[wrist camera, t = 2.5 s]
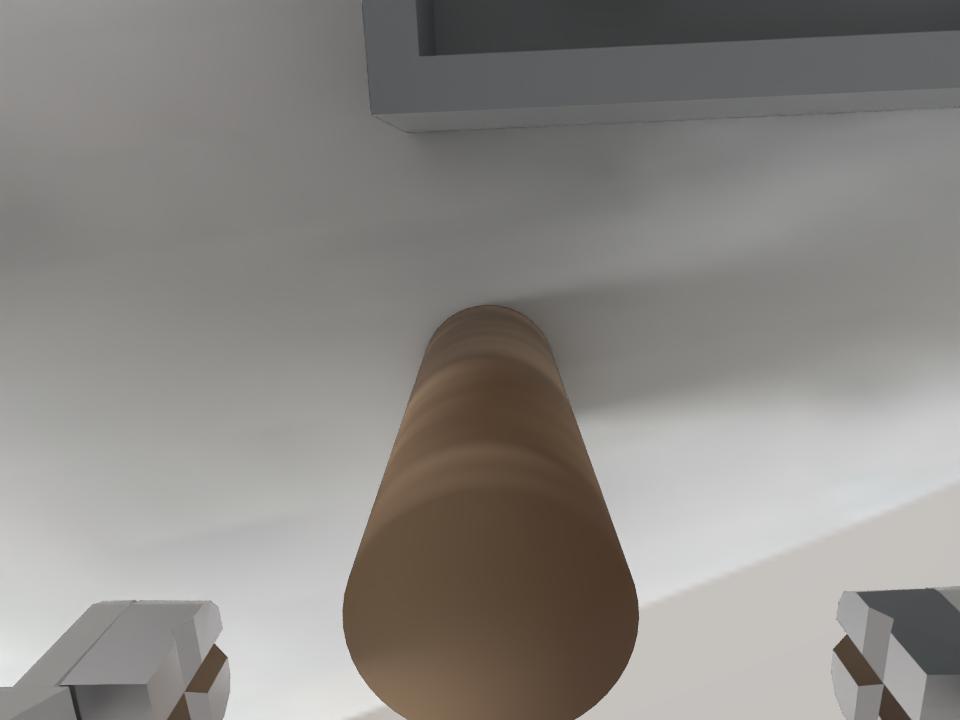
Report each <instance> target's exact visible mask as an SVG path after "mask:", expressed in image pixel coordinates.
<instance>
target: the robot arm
mask: <svg viewBox="0 0 960 720" xmlns="http://www.w3.org/2000/svg"><path fill="white" fill-rule="evenodd" d="M836 620H837V621H838V622H839V624H840V625H841V627H842V628H843V629H844V631H845V632H846V633H847V635H846V636H845V637H844V638H843V639H842V640H841V641H840V643H838V645H837V646H836V647H835V648H834V649H833V655H832V669H831V674H832V680H833V685H834V690H835V696H836V698H837V701H838V703H839V706H840V708H841V711H842V713H843V715H844V717H845V718H846V720H960V586H951V587H931V588H925V589H902V590H901V589H899V590H867V591H844V592H843V594H842V596H841V598H840V601H839V603H838V610H837V618H836ZM222 629H223V627H222V623H221V618H220V613H219V608H218V606H217V605H215V604H214V603H213V602H212V601H165V600H140V601H135V600H123V601H102V602H99V603H95V604H92V605H91V607H90V608H89V609H88V610H87V611H86V612H85V613H84V614H83V615H82V616H81V617H80V618H79V619H78V620H77V621H76V622H75V623H74V624H73V625H72V626H71V627H70V628H69V629H68V630H67V631H66V632H65V633H64V634H63V635H62V636H61V638H60V639H59V640H58V641H57V642H56V643H55V644H54V645H53V646H52V647H51V648H50V649H49V650H48V651H47V652H46V653H45V654H44V655H43V656H42V657H41V658H40V659H39V660H38V661H37V662H36V663H35V664H34V665H33V666H32V667H31V669H30V670H29V671H28V672H27V673H26V674H25V675H24V676H23V677H22V678H21V679H20V680H19V681H18V682H17V683H16V684H15V685H14V686H13V687H0V720H222V719H223V717H224V714H225V710H226V706H227V701H228V697H229V693H230V670H229V663H228V657H227V656H226V655H225V654H224V653H223V652H222V651H221V650H220V649H219V648H218V647H217V646H216V645H215V644H214V642H215V641H216V639H217V637H218V636H219V634H220V632H221V631H222Z"/></svg>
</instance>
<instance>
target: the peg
mask: <svg viewBox="0 0 960 720" xmlns="http://www.w3.org/2000/svg"><path fill="white" fill-rule="evenodd" d="M638 622H639V610H638V599H637V594H636V589H635V584H634V582H633V579H632V576H631V573H630V570H629V568H628V565H627V562H626V559H625V556H624V554H623V551H622V548H621V545H620V542H619V540H618V537H617V534H616V531H615V528H614V526H613V523H612V520H611V517H610V514H609V512H608V509H607V506H606V503H605V500H604V498H603V495H602V492H601V489H600V486H599V484H598V481H597V478H596V475H595V472H594V470H593V467H592V464H591V461H590V458H589V456H588V453H587V450H586V447H585V444H584V442H583V439H582V436H581V433H580V431H579V428H578V425H577V422H576V419H575V417H574V414H573V411H572V408H571V405H570V403H569V400H568V397H567V394H566V391H565V389H564V386H563V383H562V380H561V377H560V375H559V372H558V369H557V366H556V363H555V361H554V358H553V355H552V352H551V349H550V347H549V344H548V342H547V340H546V338H545V336H544V335H543V333H542V332H541V331H540V329H539V328H538V327H537V326H536V325H535V324H534V323H533V322H532V321H531V320H530V319H528V318H527V317H525V316H524V315H522V314H521V313H519V312H516V311H514V310H512V309H509V308H505V307H501V306H492V305H484V306H476V307H472V308H468V309H465V310H463V311H460V312H458V313H456V314H455V315H453V316H451V317H450V318H449V319H447V320H446V321H445V322H444V323H443V324H442V325H441V326H440V327H439V328H438V329H437V330H436V332H435V333H434V334H433V336H432V338H431V339H430V341H429V344H428V346H427V349H426V352H425V354H424V357H423V360H422V363H421V366H420V369H419V372H418V375H417V378H416V381H415V384H414V387H413V390H412V393H411V396H410V399H409V402H408V405H407V408H406V411H405V414H404V417H403V419H402V422H401V425H400V428H399V431H398V434H397V437H396V440H395V443H394V446H393V449H392V452H391V455H390V458H389V461H388V464H387V467H386V470H385V473H384V476H383V479H382V481H381V484H380V487H379V490H378V493H377V496H376V499H375V502H374V505H373V508H372V511H371V514H370V517H369V520H368V523H367V526H366V529H365V532H364V535H363V538H362V541H361V543H360V546H359V549H358V552H357V555H356V558H355V561H354V564H353V567H352V570H351V573H350V576H349V579H348V583H347V587H346V590H345V594H344V603H343V628H344V633H345V639H346V644H347V646H348V649H349V652H350V655H351V658H352V660H353V662H354V664H355V666H356V668H357V670H358V672H359V674H360V675H361V676H362V678H363V679H364V681H365V682H366V683H367V685H368V686H369V688H370V689H371V690H372V691H373V692H374V693H375V694H376V695H377V696H378V697H379V698H380V699H381V700H382V701H383V702H384V703H385V704H386V705H388V706H389V707H390V708H391V709H393V710H394V711H395V712H396V713H398V714H400V715H401V716H403V717H404V718H406V719H407V720H575V719H576V718H578V717H580V716H581V715H583V714H584V713H585V712H587V711H588V710H590V709H591V708H592V707H594V706H595V705H596V704H597V703H598V702H599V701H600V700H601V699H602V698H603V697H604V696H605V695H606V694H607V693H608V692H609V691H610V690H611V688H612V687H613V686H614V685H615V683H616V682H617V681H618V679H619V678H620V676H621V675H622V673H623V671H624V670H625V668H626V666H627V664H628V661H629V659H630V657H631V654H632V652H633V649H634V645H635V641H636V637H637V632H638Z"/></svg>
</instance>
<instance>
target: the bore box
mask: <svg viewBox="0 0 960 720" xmlns="http://www.w3.org/2000/svg"><path fill="white" fill-rule="evenodd" d="M362 9H363V22H364V34H365V46H366V59H367V71H368V83H369V95H370V108H371V115H372V116H374V117H376V118H378V119H381V120H383V121H385V122H387V123H389V124H391V125H393V126H395V127H397V128H399V129H401V130H403V131H405V132H407V133H409V132H430V131H452V130H474V129H496V128H518V127H540V126H562V125H583V124H605V123H627V122H649V121H671V120H693V119H715V118H737V117H758V116H780V115H802V114H824V113H846V112H868V111H890V110H911V109H933V108H955V107H960V0H362Z"/></svg>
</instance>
